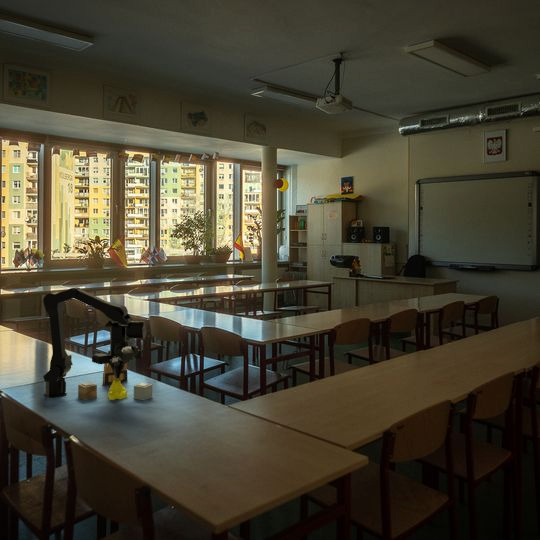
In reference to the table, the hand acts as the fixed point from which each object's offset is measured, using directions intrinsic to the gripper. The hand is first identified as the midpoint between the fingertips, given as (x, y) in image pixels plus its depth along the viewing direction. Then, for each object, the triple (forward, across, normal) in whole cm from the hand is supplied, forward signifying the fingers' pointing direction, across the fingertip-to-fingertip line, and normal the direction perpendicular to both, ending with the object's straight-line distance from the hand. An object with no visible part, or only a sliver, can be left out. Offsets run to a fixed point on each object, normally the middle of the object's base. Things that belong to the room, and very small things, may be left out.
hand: (117, 378), depth 203 cm
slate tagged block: (+7, +7, -7) cm, 12 cm away
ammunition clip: (+8, +10, +18) cm, 22 cm away
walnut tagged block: (+7, -8, +7) cm, 13 cm away
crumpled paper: (+8, 0, 0) cm, 8 cm away
